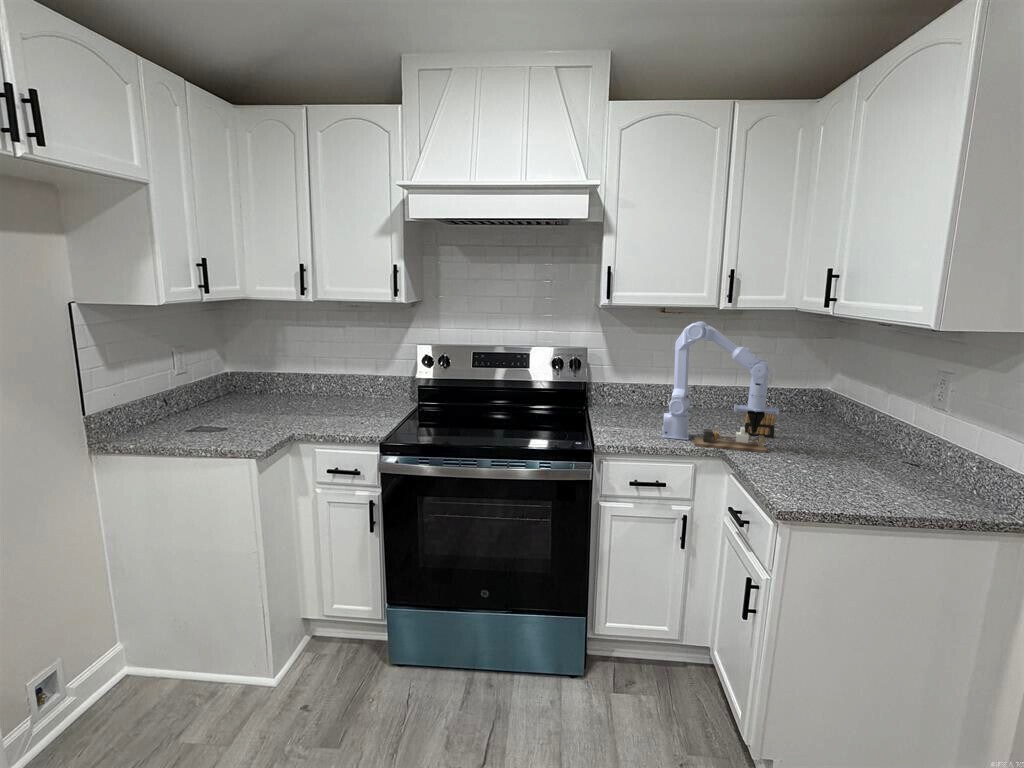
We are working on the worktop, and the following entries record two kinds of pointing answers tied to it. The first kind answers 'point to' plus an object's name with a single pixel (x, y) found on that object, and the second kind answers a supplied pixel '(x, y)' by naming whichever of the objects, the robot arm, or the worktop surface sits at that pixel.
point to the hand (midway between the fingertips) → (753, 432)
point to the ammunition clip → (762, 426)
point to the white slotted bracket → (742, 436)
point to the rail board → (729, 442)
